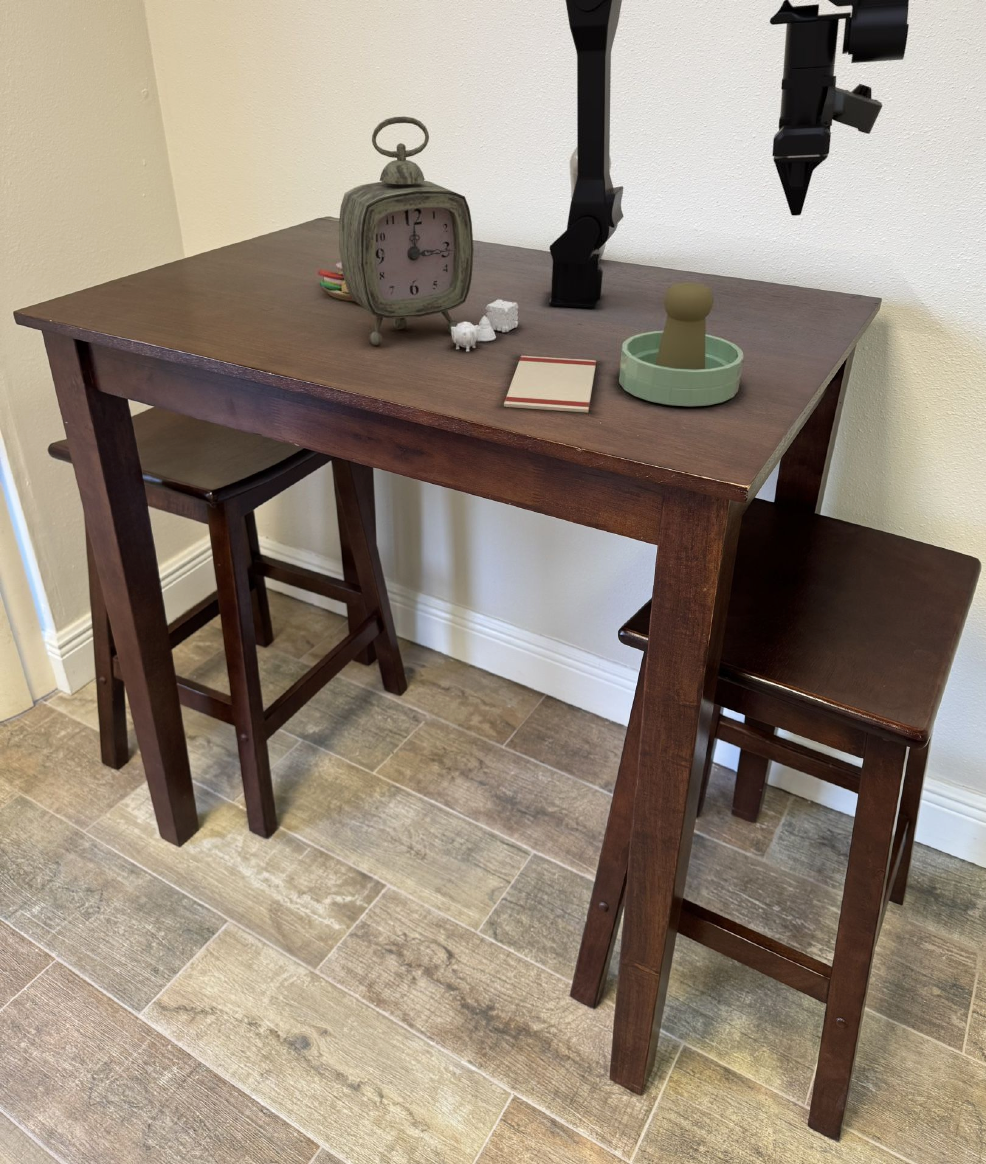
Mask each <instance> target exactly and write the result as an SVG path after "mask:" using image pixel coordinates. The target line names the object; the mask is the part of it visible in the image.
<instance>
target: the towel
mask: <svg viewBox="0 0 986 1164" xmlns="http://www.w3.org/2000/svg"><path fill="white" fill-rule="evenodd" d="M518 360H519V361H518V364H517V366H516V369H515V372H514V375H513V376H512V377H513V378H512V380H511V383H510V386H509V388H508V391H507V394H506V397H505V399H504V403H503V407H504V408H515V409H517V408H518V409H529V410H530V409H532V410H544V411H558V412H573V413H584V414H585V413H587V414H589V410H590V404H591V397H592V392H593V386H594V379H595V373H596V367H597V360H594V359H579V358H564V357H547V356H531V355H520V357H519V359H518Z"/></svg>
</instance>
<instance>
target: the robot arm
mask: <svg viewBox="0 0 986 1164" xmlns="http://www.w3.org/2000/svg"><path fill="white" fill-rule="evenodd" d="M827 1H828V2H830V3H831V4H833V5H834V6H835V7H838V8H841V7H851V11H849V12H848V11H847V12H838V13H825V14H822V13H821V14H819V11H820V4H819V3H818V4H817V3H816V4H807V5H796V6H795V5H794V6H793V4H792V3H791V2H790V0H783V2H782V3H781V6H780V7H779V10H778V11H777V12H776V13H775V14H774V15H773V16H771V17H770V19H769V24H770V25H772V26H775V25H776V26H777V25H786V28H785V42H784V43H785V44H784V53H783V54H784V56H783V70H782V79H781V85H780V86H781V87H780V88H781V96H780V97H781V99H780V100H781V101H780V112H779V119H778V131H777V132H776V133H775V134H774V136H773V139H772V140H773V142H772V157H773V163H774V165H775V168H776V171H777V174H778V177H779V181H780V183H781V187H782V190H783V193H784V195H785V199H786V202H787V205H788V208H789V211H790V214H791V216H793V217H794V216H795V217H796V216H801V215H802V212H803V208H804V205H805V201H806V197H807V194H808V191H809V187H810V183H811V179H812V175H813V172H814V171H815V169H816V168H817V167H818V166H819V165H821V164H822V163H823V162H824V161H826V160H827V158H828V157H829V155H830V148H831V147H830V146H831V137H832V132H831V127H832V126H833V121H835V122H837V123H840V124H843V125H846V126H848V127H851V128H855V129H856V130H857V131H858V132H859V133H863V134H868V135H870V134H871V132H872V130H873V127H874V126H875V123H876V122H877V119H878V117H879V114H880V112H881V111H882V108H883V103H882V102H881V101H879V100H878V99H876V98H875V99H873V98H872V87H871V86H868V85H865V84H862V83H858V84H857V86H855V87H854V88H853V90H848V89H843V88H840V87H837V75H835V68H836V67H835V66H836V55H837V46H838V37H839V36H838V34H839V23H840V20H844V28H843V39H842V49H841V55H846V54H847V55H849V56H851V60H850V63H851V64H861V63H873V62H874V63H875V62H887V61H890V62H891V61H903V60H904V58H905V53H906V49H907V48H906V47H907V42H908V34H909V28H910V27H909V26H910V24H909V23H908V19H909V18H908V17H909V6H910V5H909V2H910V0H827ZM622 3H623V0H565V6H566V12H567V18H568V24H569V25H568V26H569V29H570V33H571V36H572V40H573V44H574V47H575V50H576V51H575V52H576V60H577V61H576V71H577V72H576V87H577V88H576V104H577V105H576V107H577V108H576V109H577V110H576V114H577V115H576V121H577V123H576V127H577V128H576V130H577V131H576V132H577V134H576V141H577V143H576V147H577V180H576V184H575V188H574V192H573V196H572V198H571V200H570V205H569V212H568V217H567V223H566V230H564V231H563V233H562V234H560V236H559V237H557V239H555V240H554V241H553V242H552V243H551V244H550V245H549V252H550V256H551V259H552V270H551V274H552V275H551V288H550V289H551V290H550V291H551V293H550V298H549V300H548V301H549V302H548V305H549V306H553V307H567V308H568V307H571V308H586V309H595V308H596V307H597V302H599V301H601V298H602V289H603V277H604V275H603V274H604V267H603V266H602V265H600V260H601V259H600V254H595V253H596V252H597V251H598V250H599V249H600V248H601V247H602V246H603V245H604V244H605V243H607V242H608V240H609V239H610V238H611V237H612V236H613V235H614V233H615V232H616V231H617V229H618V226H619V223H620V222H621V220H623V218H624V213H623V210H622V200H623V194H624V186H623V185H620V186H616V187H614V184H613V182H612V181H613V180H612V177H611V171H610V172H609V155H610V149H611V148H610V146H611V145H610V143H611V142H610V141H611V139H610V138H611V81H612V80H611V79H612V77H611V76H612V50H613V46H614V42H615V37H616V33H617V29H618V25H619V20H620V16H621V15H620V14H621V9H622ZM599 259H600V260H599Z"/></svg>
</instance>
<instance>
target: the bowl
mask: <svg viewBox="0 0 986 1164" xmlns="http://www.w3.org/2000/svg"><path fill="white" fill-rule="evenodd" d="M663 331H664V330H655V331H648V332H643V333H638V334H635V335H633V336H630V337H628V338H627V339H625V341H623V343H622V344H621V355H620V367H619V377H618V383H619V385H620V386H621V387H622V388H623V390H624V391H625V392H627V393H629V394H631V395H632V396H634V397H636V398H639V399H642V400H645V401H647V402H652V403H657V404H661V405H665V406H666V405H667V406H676V407H677V406H678V407H680V406H681V407H703V406H704V407H705V406H712V405H715V404H721V403H725V402H726V401H728V400H730V399H732V398H734V397H735V396H736V394H737V393H738V391H739V388H740V382H741V376H742V369H743V366H744V365H743V364H744V358H745V357H744V353H743V350H742V349H741V348H740V347H739V346H737V344H735V343H733V342H731V341H728V340H727V339H725V338H721V337H718V336H715V335H712V334H707V333H706V338H705V369H700V370H688V369H674V368H668V367H662V366H657V365H655V363H656V359H657V355H658V351H659V347H660V343H661V339H662V335H663Z"/></svg>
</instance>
